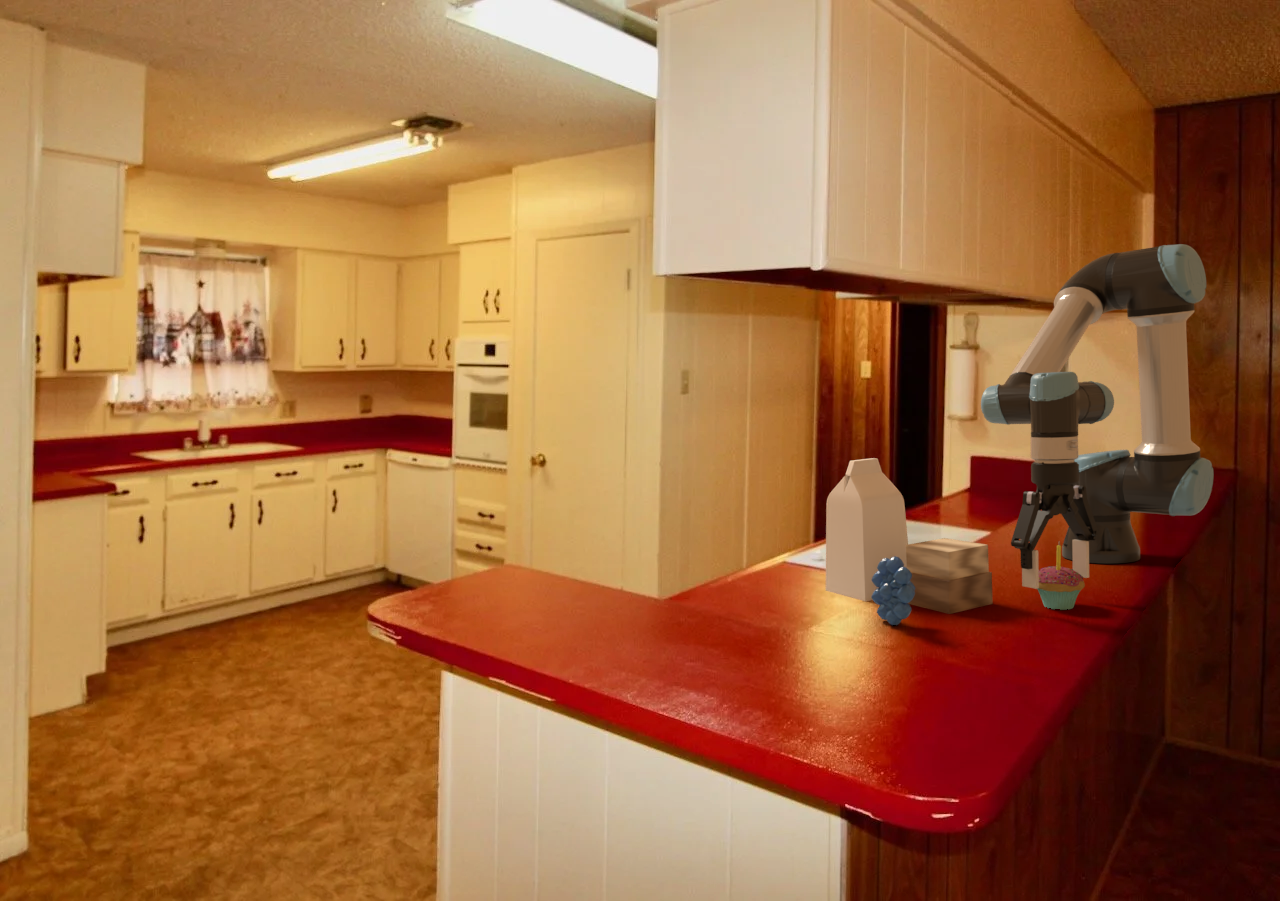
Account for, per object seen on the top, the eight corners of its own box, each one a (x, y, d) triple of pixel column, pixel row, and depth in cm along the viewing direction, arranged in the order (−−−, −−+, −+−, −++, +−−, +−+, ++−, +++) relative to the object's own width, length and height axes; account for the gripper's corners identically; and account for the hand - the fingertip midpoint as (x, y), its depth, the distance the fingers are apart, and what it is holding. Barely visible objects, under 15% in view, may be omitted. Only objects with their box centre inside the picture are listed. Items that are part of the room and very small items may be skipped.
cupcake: (1091, 612, 151) (1089, 543, 150) (1037, 612, 152) (1036, 543, 152) (1076, 600, 159) (1075, 534, 158) (1026, 600, 161) (1024, 535, 160)
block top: (945, 564, 169) (944, 538, 168) (988, 572, 160) (987, 544, 159) (906, 571, 164) (906, 544, 164) (949, 580, 155) (948, 552, 155)
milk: (865, 601, 167) (860, 463, 165) (825, 590, 177) (820, 460, 175) (912, 591, 172) (908, 458, 170) (871, 581, 182) (867, 455, 180)
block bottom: (944, 594, 170) (944, 563, 169) (992, 605, 160) (991, 572, 160) (902, 603, 164) (901, 571, 164) (949, 615, 155) (948, 581, 154)
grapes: (935, 631, 145) (933, 558, 144) (898, 635, 143) (896, 562, 143) (898, 614, 156) (896, 547, 155) (863, 618, 155) (861, 550, 154)
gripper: (1025, 467, 145) (1027, 595, 146) (1119, 456, 157) (1120, 575, 158) (987, 465, 151) (989, 588, 153) (1080, 455, 163) (1081, 569, 165)
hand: (1056, 581), depth 155 cm, fingers open, 13 cm apart
